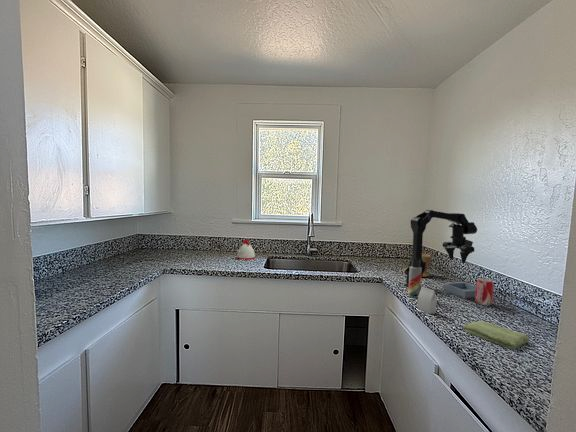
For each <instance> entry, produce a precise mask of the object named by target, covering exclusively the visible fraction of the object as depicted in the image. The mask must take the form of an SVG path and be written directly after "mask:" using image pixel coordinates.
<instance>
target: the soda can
mask: <svg viewBox="0 0 576 432" xmlns="http://www.w3.org/2000/svg"><path fill="white" fill-rule="evenodd" d="M477 279H478V280H477V281H476V282H475V284H476V285H475V286H476V293H475V298H474V299H475V300H474V301H475V302H476V303H477V304H478V305H481V306H485V307H486V306H489V307H490V305H492V304H493V299H494V287H495V285H494V282H493V279H490V278H485V277H478V278H477Z"/></svg>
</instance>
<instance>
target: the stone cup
mask: <svg viewBox="0 0 576 432" xmlns="http://www.w3.org/2000/svg"><path fill="white" fill-rule="evenodd" d="M422 260H423V261H424V262H426V265H425V268H426V269H425V271H424V273H423V275H422V277H421V278H423V277H424V278H425V277H429V276H430V275H431V274H430V273H429V272H428V268H429V267H430V264H431V262H432V255H430V254H428V253H424V252H422ZM407 268H408V267H406V268H405V267H404V268H403V271H404V272H405V270H406V269H407Z"/></svg>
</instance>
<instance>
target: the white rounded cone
mask: <svg viewBox="0 0 576 432" xmlns="http://www.w3.org/2000/svg"><path fill="white" fill-rule="evenodd" d="M242 243H243V244H242V245H241V246H240V247H239V249H238V250H237V256H236V258H239V259H245V260H244V261H250V260H249V259H253V260H255V259H256V254H255V249H253V247H252V245H251V244H250V242H249V240H248V239H246V238H245V239H243V242H242ZM254 258H255V259H254ZM239 259H238V260H239Z"/></svg>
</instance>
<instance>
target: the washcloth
mask: <svg viewBox="0 0 576 432" xmlns="http://www.w3.org/2000/svg"><path fill="white" fill-rule="evenodd" d="M462 329H464V330H465V333H467V334H470V335H472V336H475V337H477V338H480V339H483V340H485V341H488V342H491V343H494V344H496V345H499V346H501V347H504V348H506V349H509V350H516V349H517V348H520V347H521V346H522V345H526V344H528V343H530V337H529V336H528V335H527V334H525V333H522V332H520V331H515V330H513V329H509V328H507V327H502V326H499V325H496V324H494V323H490V322H487V321H483V320H479V321H472V322H469V323H468V324H463V325H462Z"/></svg>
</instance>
